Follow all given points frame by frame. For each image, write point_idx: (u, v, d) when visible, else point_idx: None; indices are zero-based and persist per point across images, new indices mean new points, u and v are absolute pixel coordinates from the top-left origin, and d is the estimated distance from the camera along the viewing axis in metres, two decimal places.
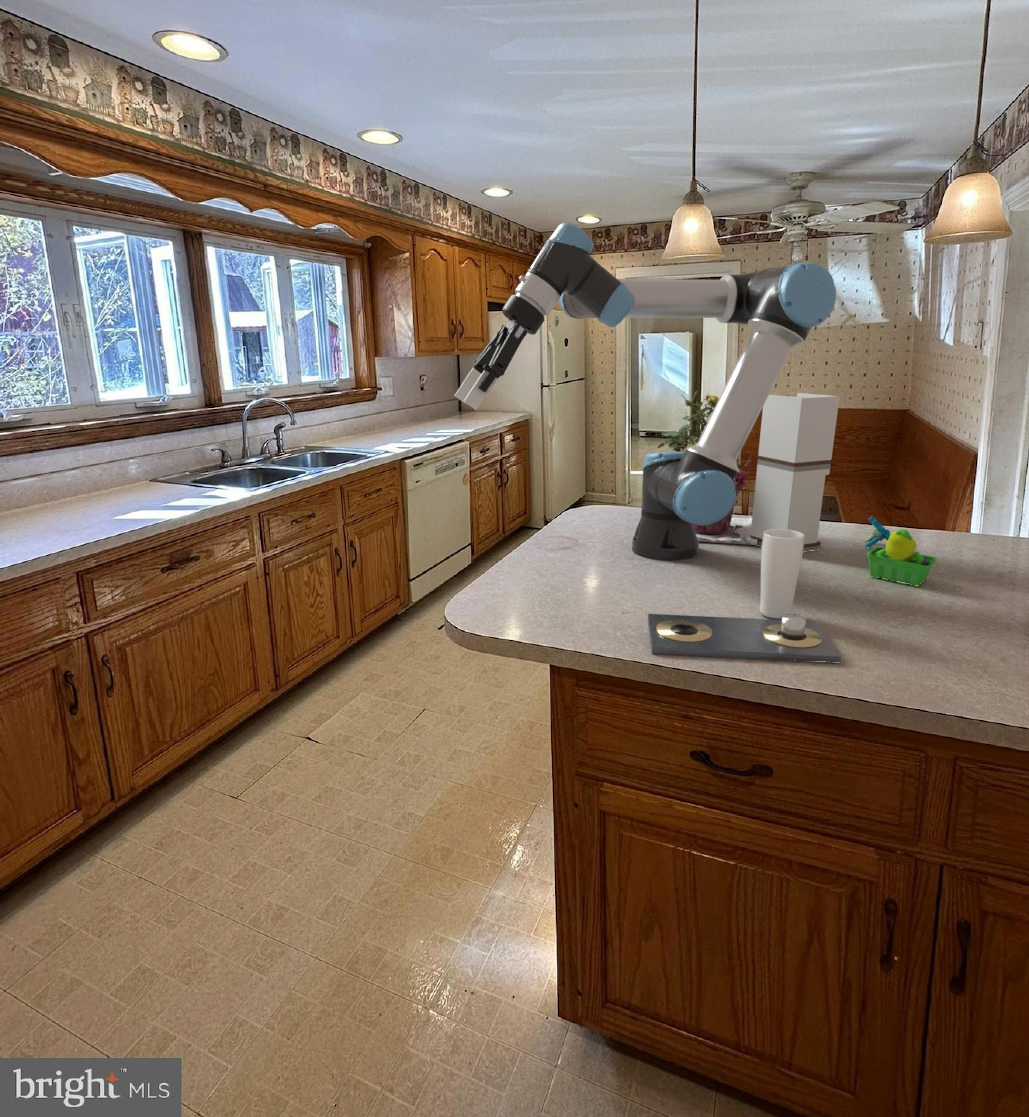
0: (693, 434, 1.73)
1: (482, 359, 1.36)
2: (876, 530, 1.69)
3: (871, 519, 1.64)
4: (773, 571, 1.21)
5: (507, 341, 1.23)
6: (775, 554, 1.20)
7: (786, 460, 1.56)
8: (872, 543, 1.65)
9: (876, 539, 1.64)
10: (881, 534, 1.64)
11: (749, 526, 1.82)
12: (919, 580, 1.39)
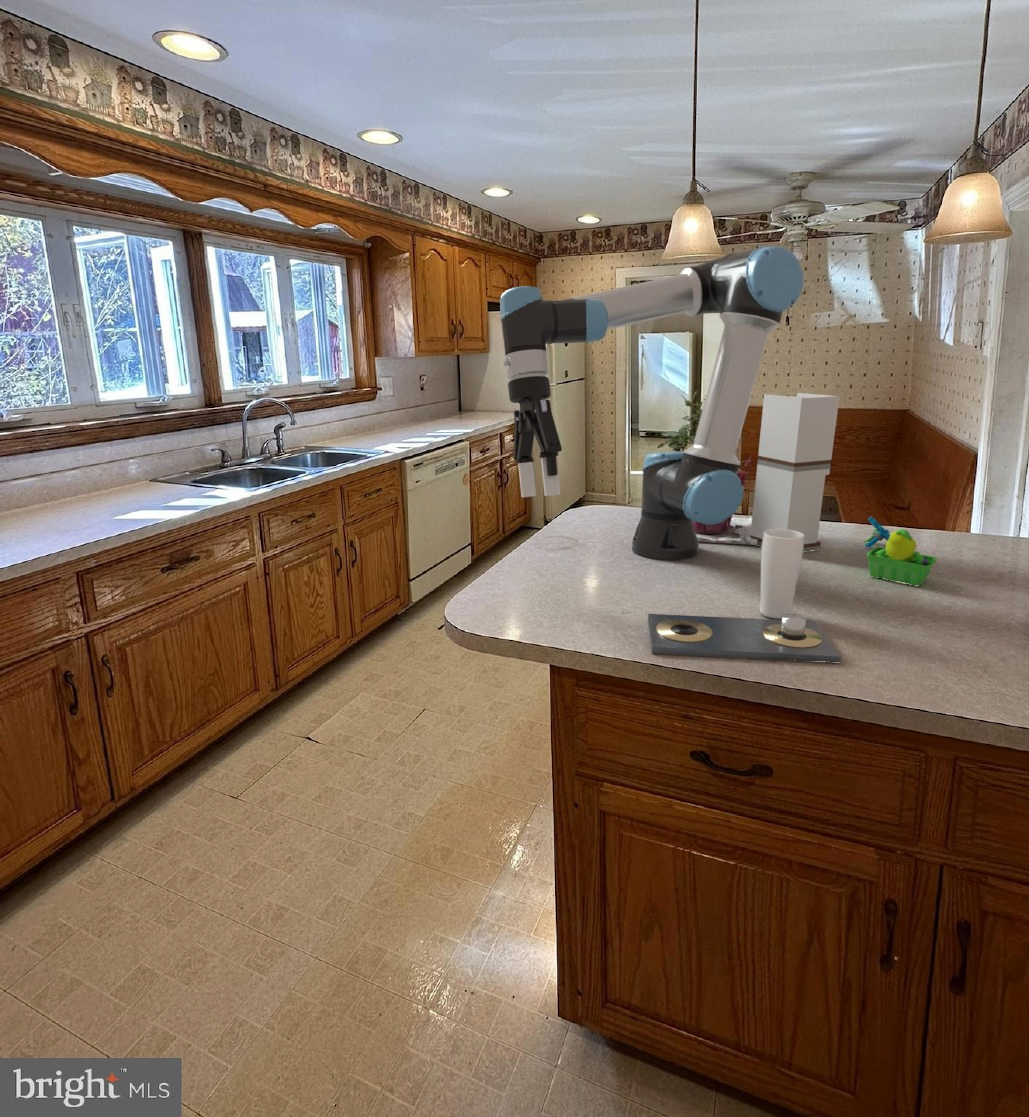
0: (693, 434, 1.73)
1: (521, 450, 1.34)
2: (876, 530, 1.69)
3: (870, 519, 1.64)
4: (773, 571, 1.21)
5: (541, 420, 1.20)
6: (775, 554, 1.20)
7: (786, 460, 1.56)
8: (871, 543, 1.65)
9: (875, 539, 1.64)
10: (880, 534, 1.64)
11: (749, 526, 1.82)
12: (919, 580, 1.39)
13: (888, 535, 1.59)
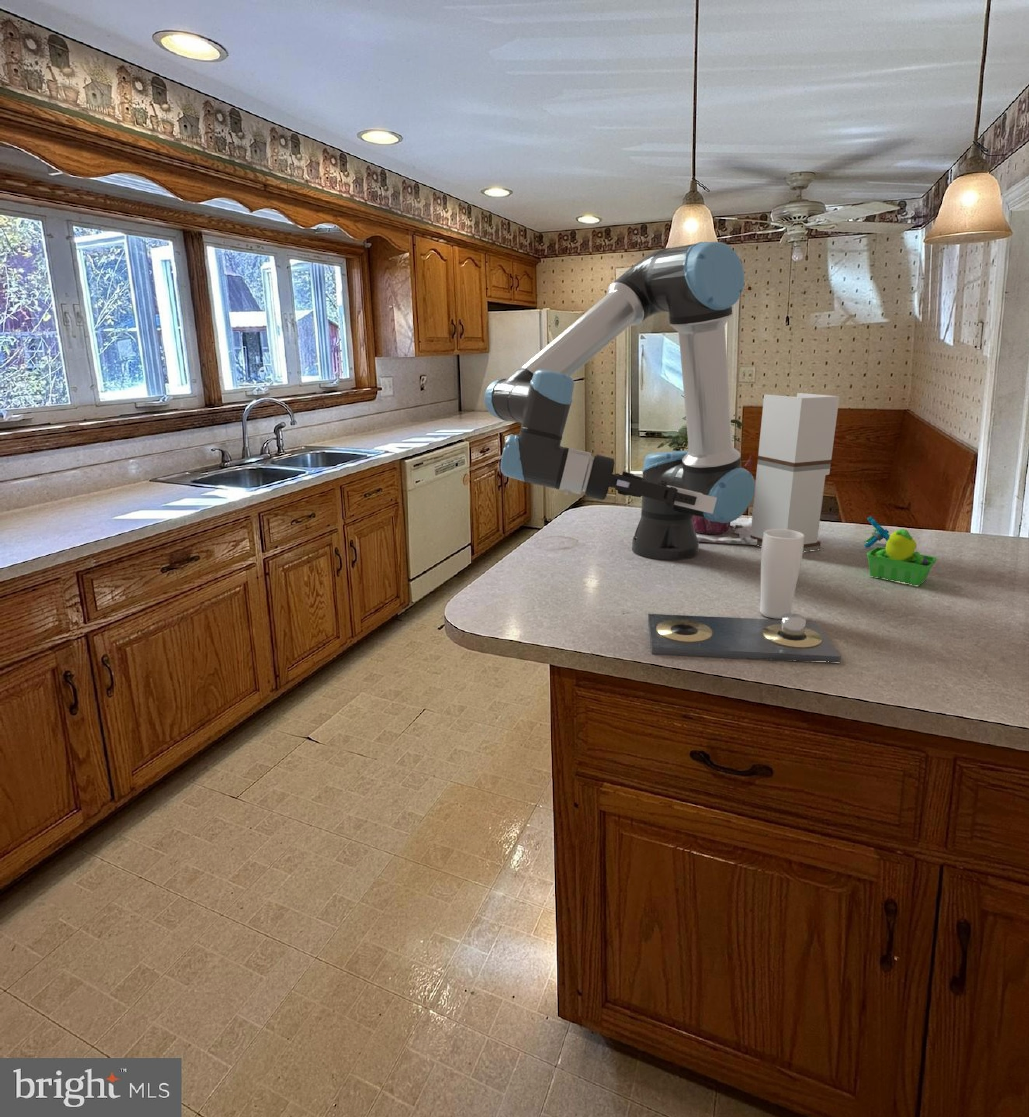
0: None
1: None
2: (875, 530, 1.69)
3: (870, 519, 1.64)
4: (773, 571, 1.21)
5: (637, 493, 1.16)
6: (775, 554, 1.20)
7: (786, 460, 1.56)
8: (871, 543, 1.65)
9: (875, 539, 1.64)
10: (880, 534, 1.64)
11: (749, 526, 1.82)
12: (919, 580, 1.39)
13: (887, 535, 1.59)
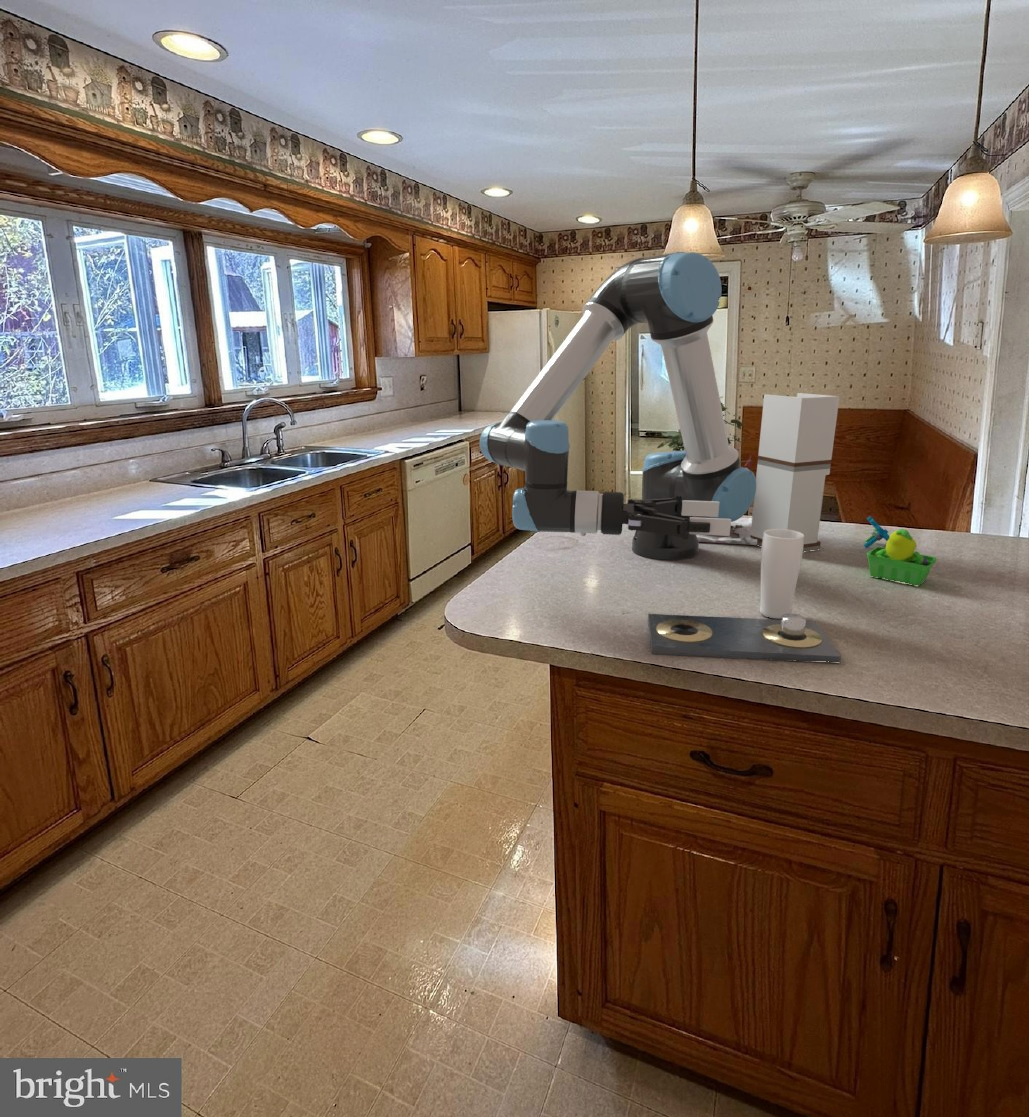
0: None
1: (669, 513, 1.29)
2: (875, 530, 1.69)
3: (869, 519, 1.64)
4: (773, 571, 1.21)
5: (650, 530, 1.17)
6: (775, 554, 1.20)
7: (786, 460, 1.56)
8: (870, 543, 1.65)
9: (874, 539, 1.65)
10: (879, 534, 1.64)
11: (749, 526, 1.82)
12: (919, 580, 1.39)
13: (886, 535, 1.60)
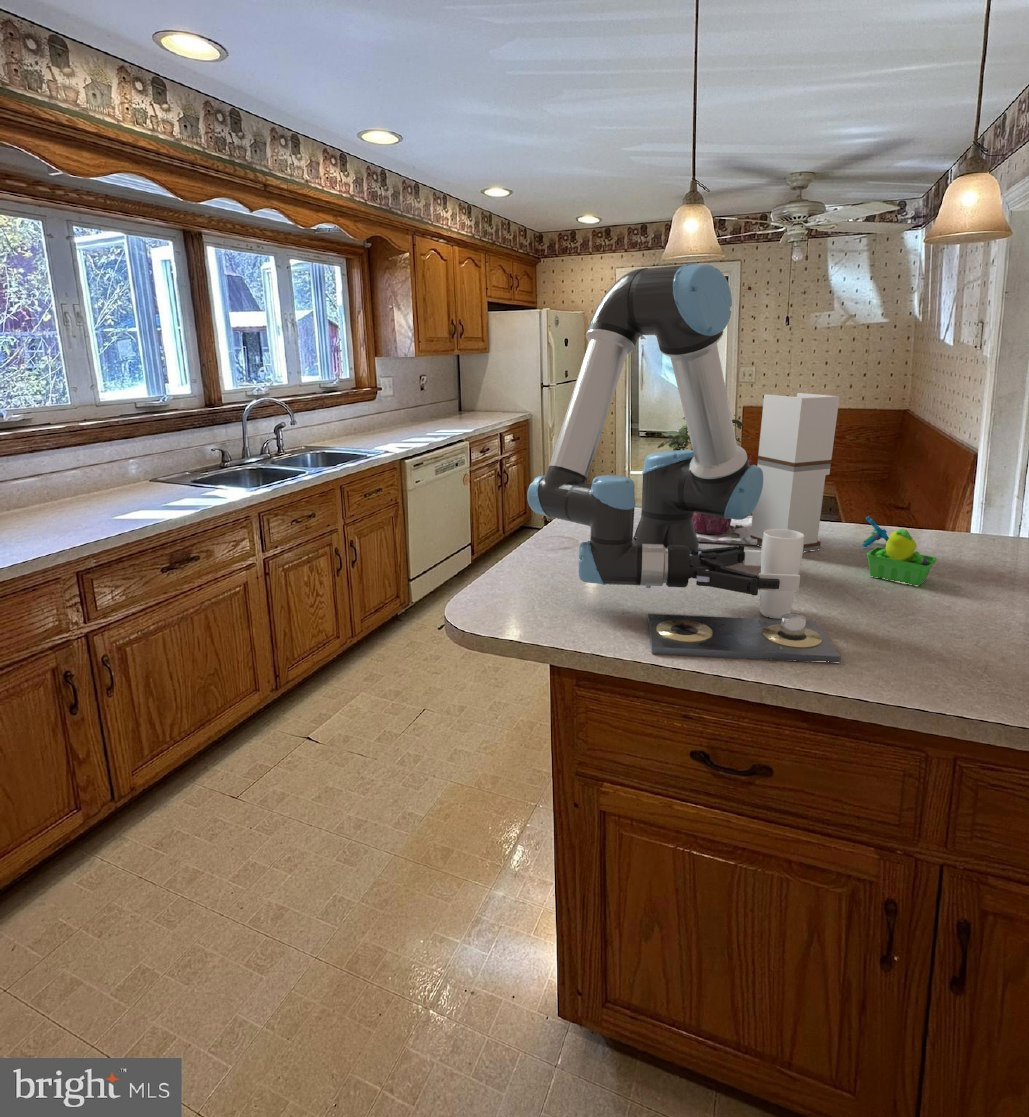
0: None
1: (732, 563, 1.30)
2: (875, 530, 1.69)
3: (868, 518, 1.64)
4: (773, 571, 1.21)
5: (719, 587, 1.18)
6: (775, 554, 1.20)
7: (786, 460, 1.56)
8: (868, 542, 1.65)
9: (873, 539, 1.65)
10: (878, 534, 1.64)
11: (749, 526, 1.82)
12: (919, 580, 1.39)
13: (884, 535, 1.60)
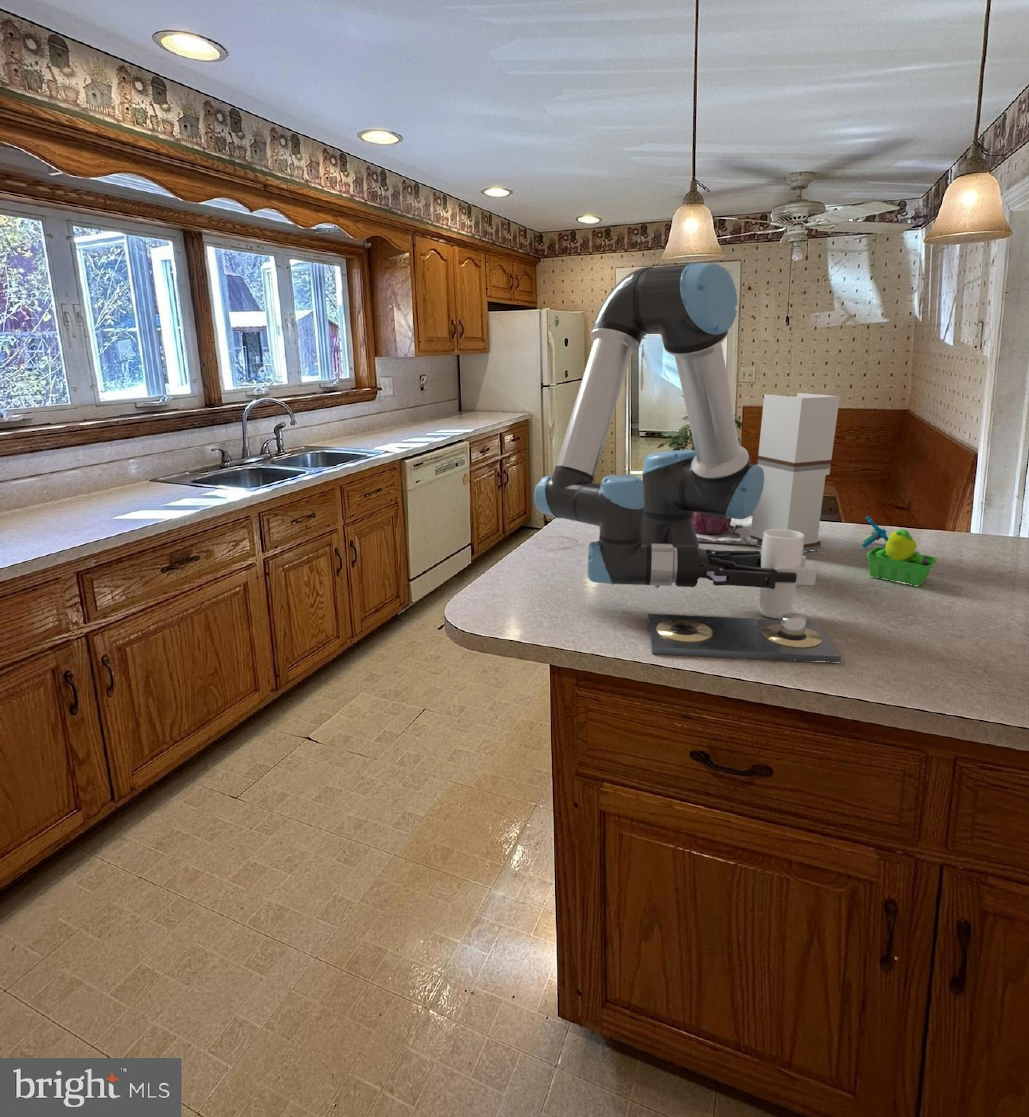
0: None
1: None
2: (875, 530, 1.69)
3: (867, 518, 1.64)
4: None
5: (737, 584, 1.19)
6: (775, 554, 1.20)
7: (786, 460, 1.56)
8: (868, 542, 1.65)
9: (872, 538, 1.65)
10: (877, 534, 1.64)
11: (749, 526, 1.82)
12: (919, 580, 1.39)
13: (883, 535, 1.60)
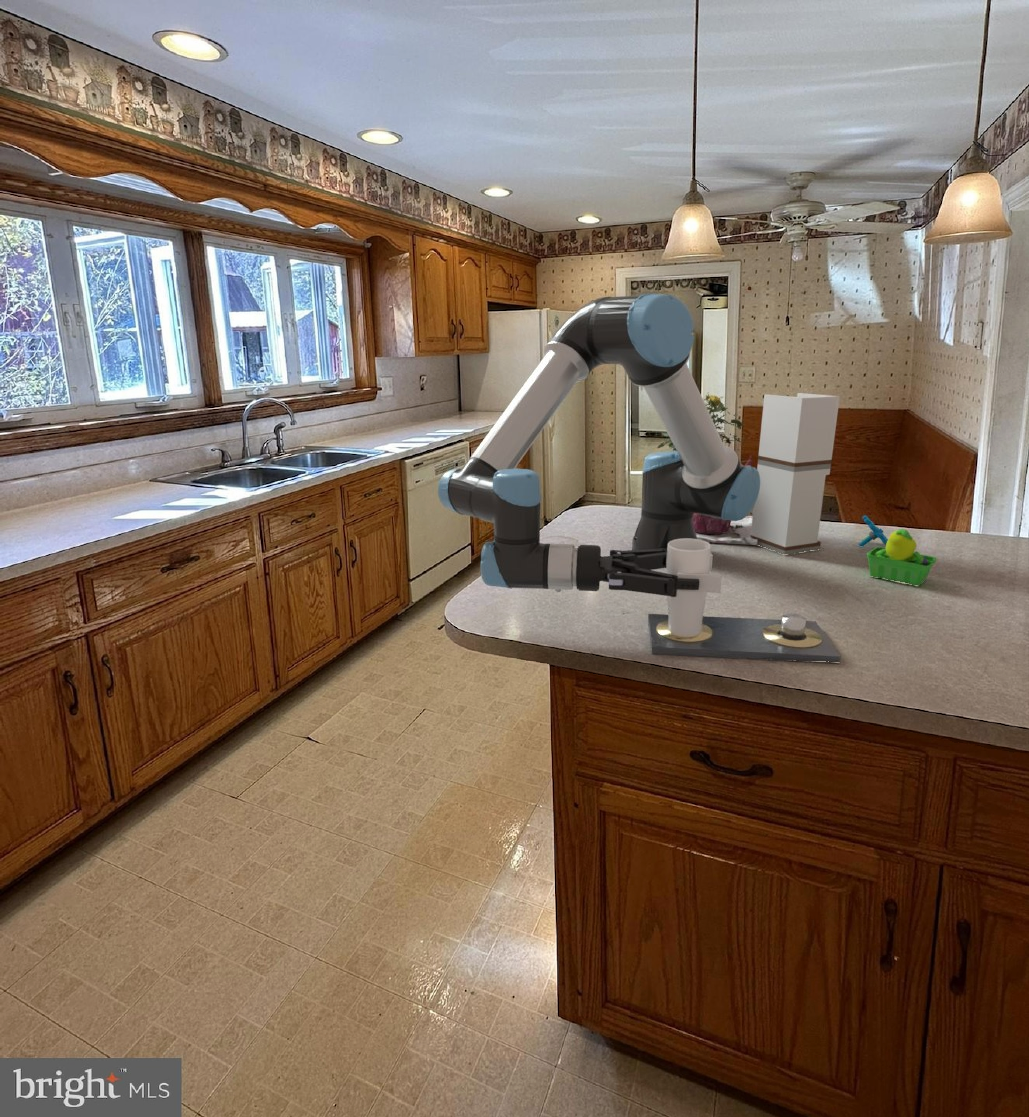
0: None
1: (656, 567, 1.18)
2: None
3: (864, 518, 1.65)
4: None
5: (633, 590, 1.08)
6: (679, 568, 1.09)
7: (786, 460, 1.56)
8: (865, 542, 1.66)
9: (869, 538, 1.65)
10: (874, 533, 1.64)
11: (749, 526, 1.82)
12: (919, 580, 1.39)
13: (878, 534, 1.60)
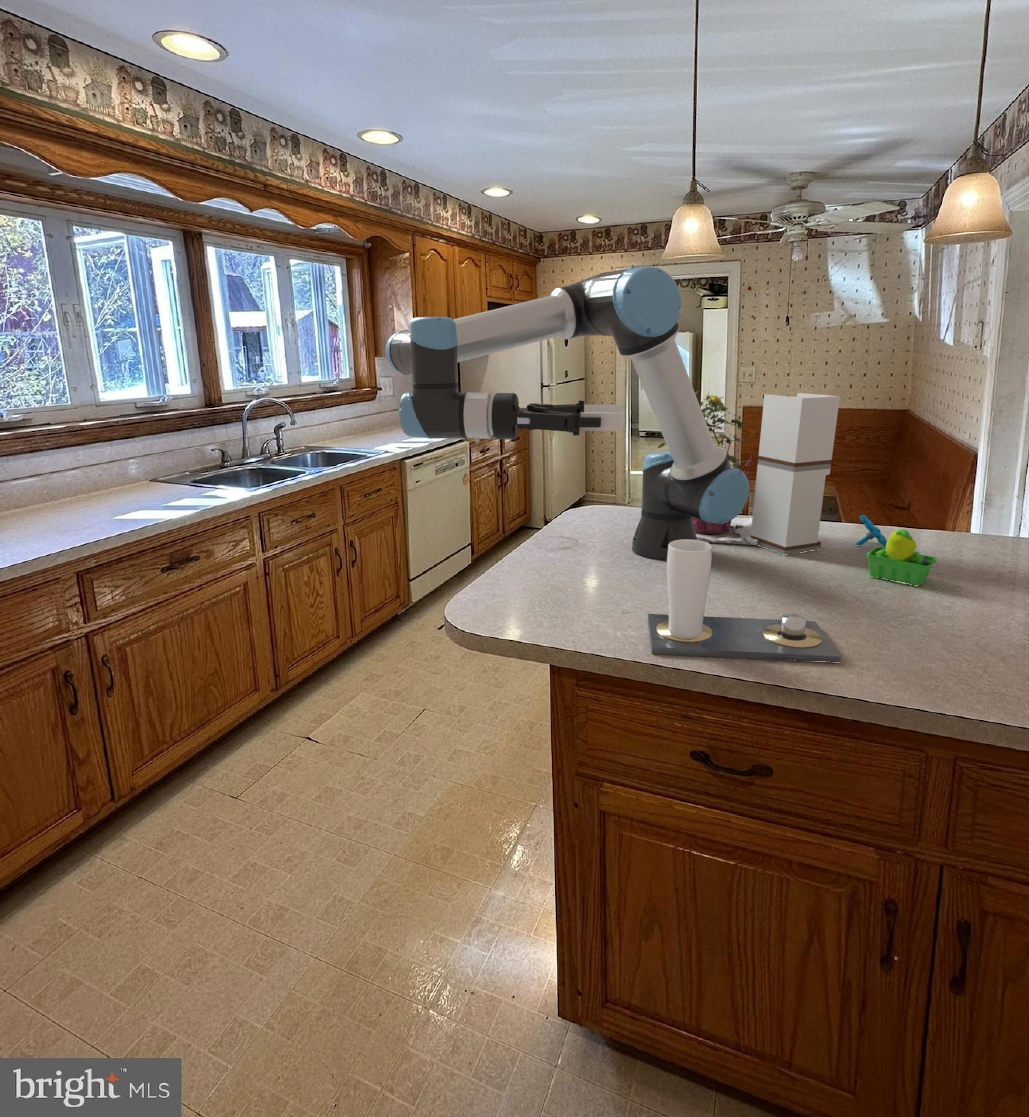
0: None
1: None
2: None
3: (861, 517, 1.66)
4: (679, 587, 1.09)
5: (538, 428, 1.09)
6: (680, 569, 1.08)
7: (787, 460, 1.56)
8: (862, 541, 1.66)
9: (866, 537, 1.66)
10: (871, 533, 1.65)
11: (749, 526, 1.82)
12: (919, 580, 1.39)
13: (874, 533, 1.61)
